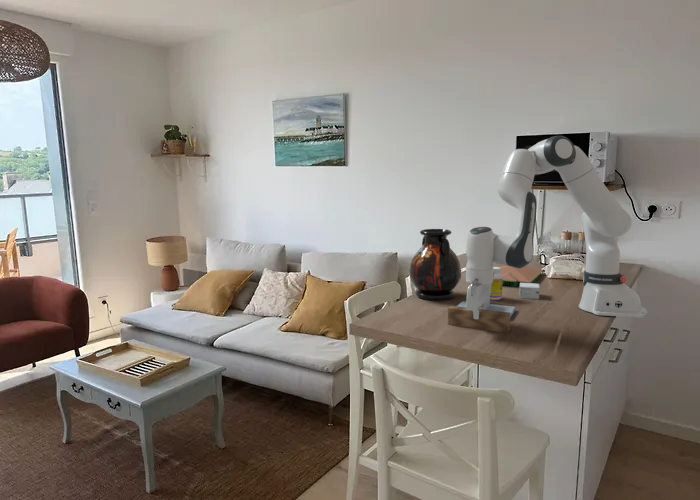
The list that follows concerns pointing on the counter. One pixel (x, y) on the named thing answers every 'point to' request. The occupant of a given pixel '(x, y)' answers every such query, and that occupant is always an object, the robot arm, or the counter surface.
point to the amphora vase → (435, 266)
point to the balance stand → (493, 307)
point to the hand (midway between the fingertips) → (478, 316)
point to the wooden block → (486, 320)
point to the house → (519, 274)
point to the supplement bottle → (496, 285)
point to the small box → (529, 290)
